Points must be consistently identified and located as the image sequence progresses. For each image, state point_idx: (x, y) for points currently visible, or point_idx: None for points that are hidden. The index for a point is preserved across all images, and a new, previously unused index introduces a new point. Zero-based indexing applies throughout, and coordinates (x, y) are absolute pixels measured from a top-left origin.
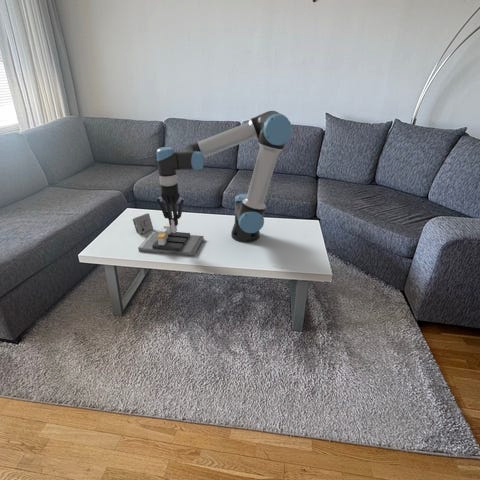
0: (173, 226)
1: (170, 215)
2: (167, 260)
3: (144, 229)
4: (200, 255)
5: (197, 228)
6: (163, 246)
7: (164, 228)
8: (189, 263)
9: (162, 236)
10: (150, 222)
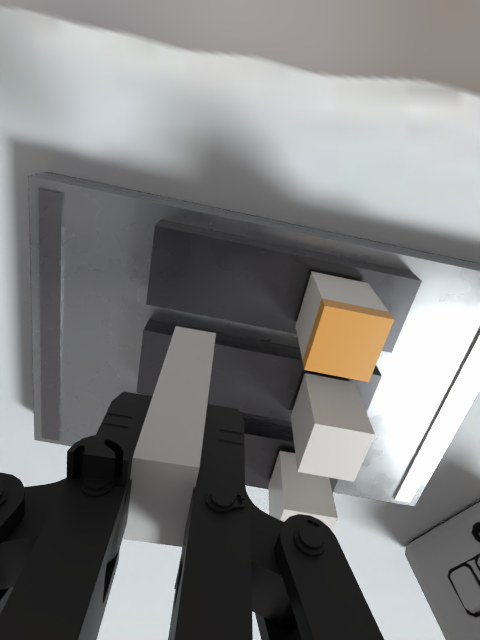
0: (175, 378)
1: (182, 573)
2: (268, 105)
3: (468, 535)
4: (2, 190)
5: (124, 542)
6: (317, 260)
7: (327, 496)
8: (58, 38)
9: (336, 324)
10: (434, 596)
